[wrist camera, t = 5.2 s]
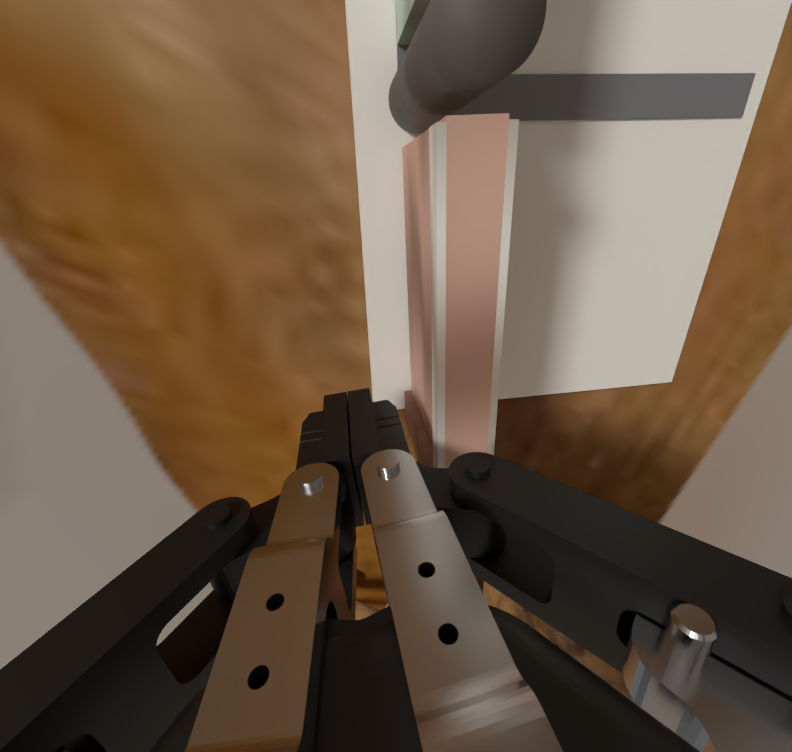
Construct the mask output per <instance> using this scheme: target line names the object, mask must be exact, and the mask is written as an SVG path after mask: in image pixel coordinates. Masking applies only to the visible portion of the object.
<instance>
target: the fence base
mask: <svg viewBox="0 0 792 752" xmlns="http://www.w3.org/2000/svg"><path fill="white" fill-rule="evenodd" d="M546 5H547V0H396V16H397V45H409V47H408V49H407V51H406V53H405V55H404V57H403V59H402V61H401V64H400V66H399V68H398V70H397V72H396V74H395V76H394V78H393V80H392V83H391V85H390V89H389V99H388V100H389V108H390V111H391V114H392V117H393V118H394V120H395V122H396V123H397V124H398V125H399V126H400V127H401V128H402V129H403V130H405V131H407V132H409V133H413V134H422V133H423V132H425V131H426V130H427V129H429V127H431V126H432V125H433V124H435V123H436V122H438V121H440V120H441V119H443V118H444V117H445V116H447V115H453V114H454V113H455V112H457V111H458V110H460V109H461V108H463V107H464V106H465V105H467V104H468V103H470V102H471V101H473V100H474V99H476V98H477V97H478V96H480V95H481V94H483V93H484V92H486V91H487V90H488V89H490V88H491V87H493V86H494V85H496V84H497V83H498V82H500V81H501V80H503V79H504V78H506V77H507V76H508V75H510V74H511V73H513V72H514V71H515V70H517V69H518V68H519V67H520V66H521V65H522V64H523V63H524V62H525V61H526V60H527V59H528V57H529V56H530V55H531V53H532V51H533V50H534V48H535V46H536V44H537V42H538V40H539V38H540V35H541V32H542V29H543V25H544V21H545V15H546Z"/></svg>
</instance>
